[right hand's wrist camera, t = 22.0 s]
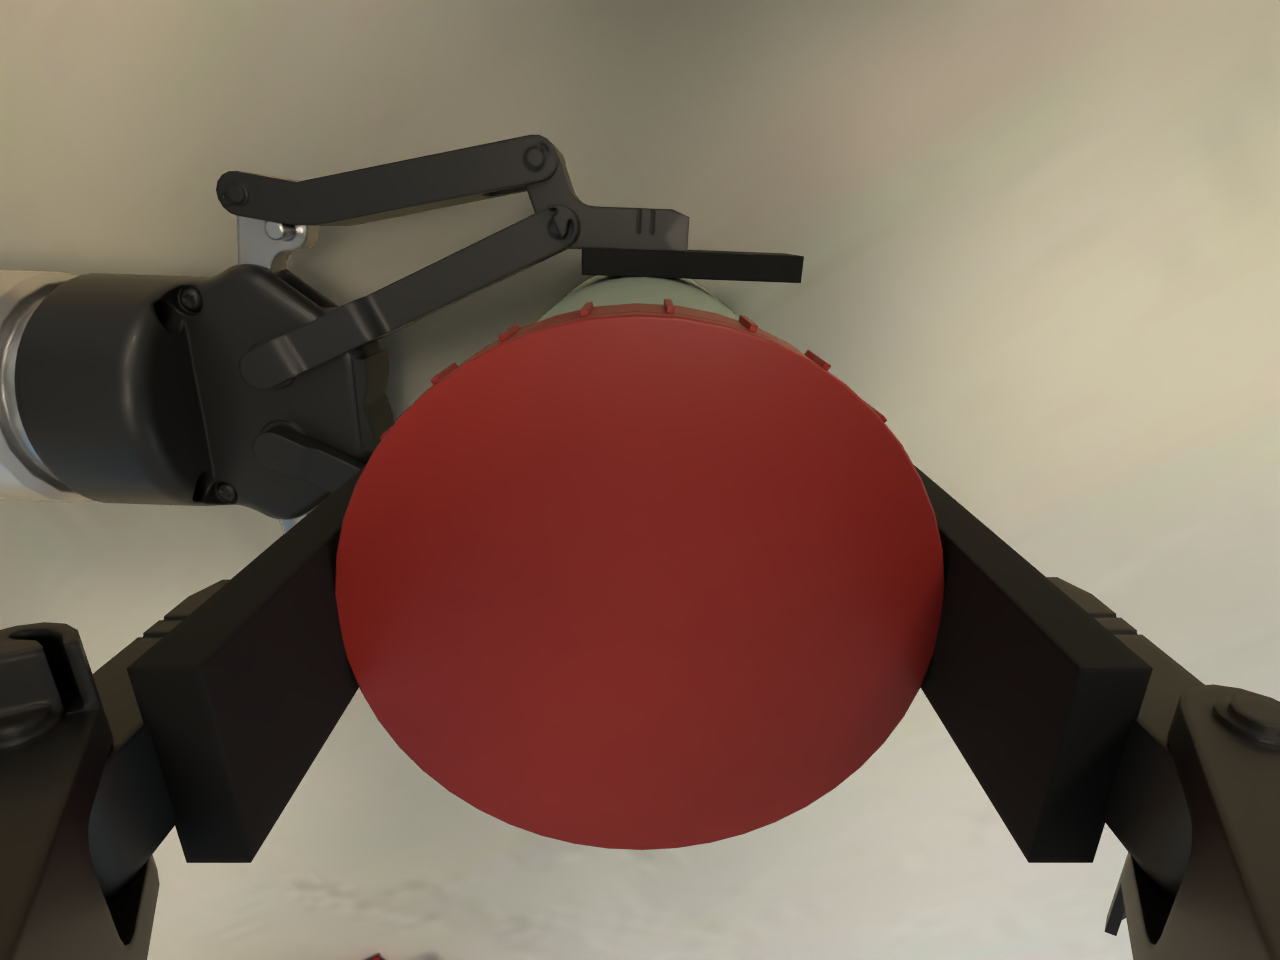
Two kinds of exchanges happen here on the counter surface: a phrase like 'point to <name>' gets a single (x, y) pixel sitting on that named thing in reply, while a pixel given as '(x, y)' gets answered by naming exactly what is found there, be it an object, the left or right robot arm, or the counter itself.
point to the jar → (639, 294)
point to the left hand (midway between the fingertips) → (776, 413)
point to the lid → (639, 578)
